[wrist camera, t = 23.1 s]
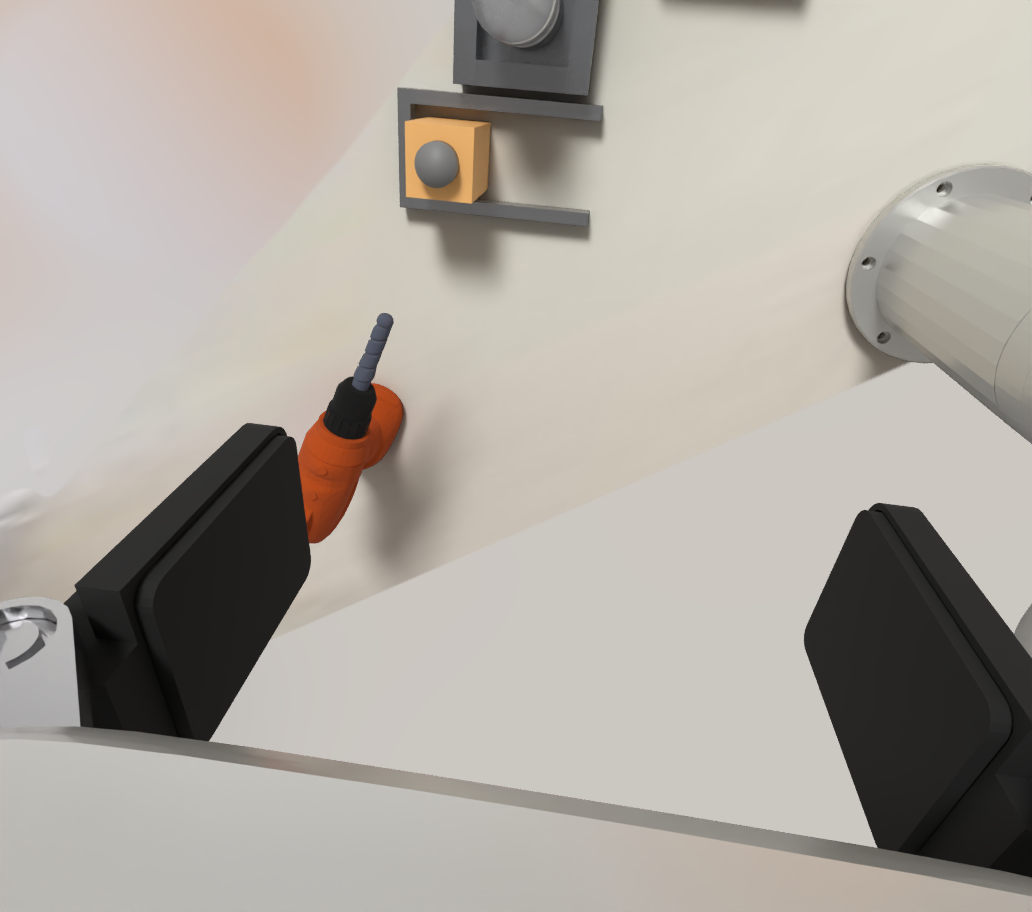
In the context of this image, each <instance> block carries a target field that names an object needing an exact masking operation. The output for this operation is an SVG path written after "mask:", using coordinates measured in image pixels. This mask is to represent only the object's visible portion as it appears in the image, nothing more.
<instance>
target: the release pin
mask: <svg viewBox="0 0 1032 912" xmlns="http://www.w3.org/2000/svg"><path fill="white" fill-rule="evenodd" d="M490 127H491V122H480V121H469V120H459V119H448V118H437V117H426V118H421V119H415V120H409V121H405V164H406V197H412V198H422V199H432V200H442V201H452V202H461V203H471V204H472V203H473V202H474V201H475V200H476V199H477V198H478V197H479V196H481V195H482V194H483V193H484V192H485V191H486V190H487V189H488V169H489V148H490Z"/></svg>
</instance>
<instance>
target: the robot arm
mask: <svg viewBox="0 0 1032 912" xmlns="http://www.w3.org/2000/svg"><path fill="white" fill-rule="evenodd" d="M940 184H941V185H942V187H941V189H940V190H939V191H937V188H938V186H939V185H940ZM936 191H937V192H936ZM1031 197H1032V174H1030V173H1028V172H1026V171H1024V170H1021V169H1017V168H1012V167H1008V166H1001V165H990V164H980V165H970V166H962V167H959V168H955V169H952V170H948V171H944V172H941V173H939V174H937V175H934V176H932V177H930V178H928V179H926V180H924V181H921V182H919V183H918V184H916V185H915V186H913V187H912V188H910V189H909V190H907V191H906V192H904V193H903V194H901V195H900V196H899V197H897V198H896V199H895V200H894V201H893V202H892V203H891V204H890V205H888V206H887V207H886V208H885V209H884V210H883V211H882V212H881V213H880V214H879V216H878V217H877V218H876V219H875V220H874V221H873V223H872V224H871V225H870V226H869V227H868V229H867V231H866V232H865V234H864V236H863V237H862V239H861V240H860V242H859V244H858V245H857V248H856V250H855V253H854V255H853V258H852V260H851V263H850V267H849V272H848V276H847V281H846V299H847V304H848V308H849V313H850V316H851V318H852V320H853V322H854V324H855V326H856V328H857V329H858V330H859V331H860V332H861V334H862V335H863V336H864V337H865V338H866V340H868V341H869V342H870V343H871V344H872V345H873V346H874V347H875V348H877V349H879V350H880V351H882V352H884V353H886V354H887V355H889V356H891V357H895V358H898V359H901V360H904V361H909V362H918V363H934V364H936V365H937V366H938V367H939V368H940V369H942V370H943V371H944V372H945V373H946V374H948V375H949V376H950V377H951V378H952V379H954V380H955V381H956V382H957V383H958V384H960V385H961V386H962V387H963V388H964V389H966V390H967V391H968V392H969V393H970V394H971V395H973V396H974V397H975V398H976V399H977V400H979V401H980V402H981V403H982V404H983V405H985V406H986V407H987V408H988V409H990V410H991V411H992V412H993V413H994V414H995V415H997V416H998V417H999V418H1000V419H1002V420H1003V421H1004V422H1005V423H1006V424H1008V425H1009V426H1010V427H1011V428H1013V429H1014V430H1015V431H1016V432H1018V433H1019V434H1020V435H1021V436H1023V437H1024V438H1025V439H1026V440H1028V441H1029V442H1030V443H1031V444H1032V199H1031ZM866 258H868V261H867V262H866V263H865V264H862V262H863V260H864V259H866ZM880 333H882V335H880V336H878V335H879V334H880ZM310 565H311V555H310V547H309V539H308V532H307V524H306V516H305V508H304V501H303V493H302V485H301V477H300V470H299V462H298V454H297V447H296V442H295V440H294V438H292V437H289V436H287V434H286V432H285V430H284V429H283V428H282V427H277V426H269V425H261V424H253V423H246V424H245V425H243V426H242V427H241V428H240V429H239V430H238V431H237V432H236V433H235V434H234V435H232V436H231V437H230V438H229V439H228V440H227V441H226V442H225V443H224V444H223V445H222V446H221V447H220V448H219V449H218V450H217V451H216V452H215V453H213V454H212V455H211V456H210V457H209V458H208V459H207V460H206V461H205V462H204V463H203V464H202V465H201V466H200V467H199V468H198V469H197V470H196V471H194V472H193V473H192V474H191V475H190V476H189V477H188V478H187V479H186V480H185V481H184V482H183V483H182V484H181V485H180V486H179V487H178V488H177V489H175V490H174V491H173V492H172V493H171V494H170V495H169V496H168V497H167V498H166V499H165V500H164V501H163V502H162V503H161V504H160V505H159V506H158V507H157V508H155V509H154V510H153V511H152V512H151V513H150V514H149V515H148V516H147V517H146V518H145V519H144V520H143V521H142V522H141V523H140V524H139V525H138V526H136V527H135V528H134V529H133V530H132V531H131V532H130V533H129V534H128V535H127V536H126V537H125V538H124V539H123V540H122V541H121V542H120V543H119V544H117V545H116V546H115V547H114V548H113V549H112V550H111V551H110V552H109V553H108V554H107V555H106V556H105V557H104V558H103V559H102V560H101V561H100V562H98V563H97V564H96V565H95V566H94V567H93V568H92V569H91V570H90V571H89V572H88V573H87V574H86V575H85V576H84V577H83V578H82V579H81V580H79V581H78V582H77V583H76V584H75V588H76V590H77V591H76V592H75V593H74V594H73V595H72V596H71V597H70V598H69V599H68V600H67V601H66V602H65V603H64V604H63V603H61V602H60V601H58V600H55V599H51V598H46V597H22V598H17V599H12V600H7V601H2V602H0V912H1032V604H1031V606H1030V607H1029V608H1028V610H1027V611H1026V613H1025V614H1024V615H1023V617H1022V619H1021V620H1020V622H1019V624H1018V626H1017V628H1016V630H1015V633H1014V634H1013V632H1012V631H1011V630H1010V629H1009V627H1008V626H1007V625H1006V623H1005V622H1004V621H1003V619H1002V618H1001V617H1000V615H999V614H998V613H997V611H996V610H995V609H994V607H993V606H992V605H991V603H990V602H989V601H988V599H987V598H986V597H985V595H984V594H983V593H982V591H981V590H980V589H979V587H978V586H977V585H976V583H975V582H974V581H973V579H972V578H971V577H970V575H969V574H968V573H967V572H966V570H965V569H964V568H963V566H962V565H961V563H960V562H959V561H958V559H957V558H956V557H955V555H954V554H953V553H952V551H951V550H950V549H949V548H948V546H947V545H946V543H945V542H944V541H943V540H942V538H941V537H940V536H939V534H938V533H937V532H936V530H935V529H934V528H933V526H932V525H931V524H930V522H929V521H928V520H927V518H926V517H925V516H924V514H923V513H922V512H921V511H920V510H919V509H917V508H914V507H907V506H899V505H891V504H883V503H877V504H874V505H873V506H872V507H871V508H870V509H869V511H867V510H863V511H861V512H860V513H859V514H858V515H857V517H856V519H855V521H854V523H853V525H852V527H851V530H850V532H849V534H848V536H847V538H846V540H845V543H844V545H843V547H842V550H841V551H840V554H839V556H838V558H837V560H836V563H835V565H834V567H833V569H832V571H831V574H830V576H829V578H828V580H827V582H826V585H825V587H824V589H823V591H822V593H821V595H820V597H819V600H818V602H817V604H816V606H815V609H814V611H813V613H812V615H811V617H810V620H809V622H808V624H807V626H806V629H805V634H804V645H805V650H806V653H807V655H808V658H809V661H810V664H811V666H812V669H813V672H814V675H815V678H816V680H817V683H818V686H819V689H820V691H821V694H822V697H823V700H824V702H825V705H826V708H827V711H828V713H829V716H830V719H831V722H832V724H833V727H834V730H835V733H836V735H837V738H838V741H839V743H840V746H841V749H842V752H843V755H844V758H845V760H846V763H847V766H848V768H849V771H850V774H851V777H852V779H853V782H854V785H855V788H856V791H857V793H858V796H859V799H860V802H861V804H862V807H863V810H864V813H865V815H866V818H867V821H868V824H869V827H870V829H871V832H872V835H873V837H874V840H875V843H876V845H877V847H878V848H874V847H868V846H862V845H856V844H850V843H844V842H838V841H832V840H826V839H820V838H814V837H808V836H802V835H796V834H790V833H784V832H778V831H772V830H766V829H760V828H754V827H748V826H742V825H735V824H730V823H723V822H718V821H712V820H706V819H700V818H694V817H688V816H681V815H675V814H669V813H664V812H657V811H651V810H645V809H639V808H633V807H626V806H620V805H614V804H608V803H602V802H595V801H589V800H583V799H577V798H571V797H564V796H558V795H551V794H546V793H539V792H533V791H527V790H521V789H514V788H508V787H502V786H495V785H489V784H483V783H476V782H471V781H464V780H458V779H452V778H445V777H438V776H433V775H426V774H419V773H413V772H406V771H400V770H394V769H388V768H381V767H375V766H368V765H361V764H355V763H349V762H342V761H336V760H330V759H323V758H316V757H310V756H303V755H297V754H291V753H284V752H278V751H271V750H265V749H258V748H252V747H245V746H237V745H230V744H222V743H216V742H208V741H209V740H210V739H211V737H212V735H213V734H214V732H215V731H216V729H217V727H218V725H219V724H220V722H221V721H222V719H223V717H224V716H225V714H226V712H227V711H228V709H229V707H230V706H231V704H232V702H233V701H234V699H235V697H236V695H237V694H238V692H239V690H240V689H241V687H242V685H243V684H244V682H245V680H246V679H247V677H248V675H249V673H250V672H251V670H252V669H253V667H254V665H255V664H256V662H257V660H258V659H259V657H260V655H261V654H262V652H263V650H264V648H265V647H266V645H267V644H268V642H269V640H270V639H271V637H272V635H273V634H274V632H275V630H276V629H277V627H278V625H279V624H280V622H281V620H282V619H283V617H284V615H285V614H286V612H287V610H288V609H289V607H290V605H291V604H292V602H293V600H294V599H295V597H296V595H297V594H298V592H299V590H300V589H301V587H302V585H303V584H304V582H305V580H306V578H307V576H308V573H309V570H310Z"/></svg>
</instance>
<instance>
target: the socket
mask: <svg viewBox="0 0 1032 912" xmlns="http://www.w3.org/2000/svg"><path fill="white" fill-rule="evenodd" d="M598 7H599V0H563V17H562V21H561V24H560V27H559V29H558V31H557V33H556V35H555V36H554V38H553V39H552V40H551V41H550V42H549V43H548V44H547V45H545V46H544V47H542V48H540V49H537V50H532V51H525V50H520V49H517V48H515V47H513V46H511V45H508V44H506V43H504V42H502V41H500V40H498V39H496V38H494V37H492V36H491V35H489V34H488V33H487V32H486V31H485V30H484V28H483V27H482V26H481V25H480V23H479V21H478V20H477V18H476V15H475V13H474V10H473V6H472V2H471V0H455V11H454V64H453V84H464V85H475V86H486V87H497V88H508V89H519V90H531V91H542V92H553V93H564V94H575V95H586V96H587V95H588V92H589V84H590V75H591V67H592V58H593V50H594V41H595V33H596V24H597V16H598Z"/></svg>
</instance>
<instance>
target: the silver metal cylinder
mask: <svg viewBox="0 0 1032 912" xmlns="http://www.w3.org/2000/svg"><path fill="white" fill-rule="evenodd" d="M471 2H472V6H473V10H474V13H475V15H476V18H477V20H478V21H479V23H480V25H481V26H482V27H483V28H484V30H485V31H486V32H487V33H488V34H489V35H491V36H492V37H494V38H496V39H498V40H500V41H502V42H504V43H506V44H508V45H511V46H513V47H515V48H517V49H520V50H525V51H532V50H537V49H540V48H542V47H544V46H545V45H547V44H548V43H549V42H550V41H551V40H552V39H553V38H554V36H555V35H556V33H557V31H558V29H559V27H560V24H561V21H562V17H563V0H471Z"/></svg>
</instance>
